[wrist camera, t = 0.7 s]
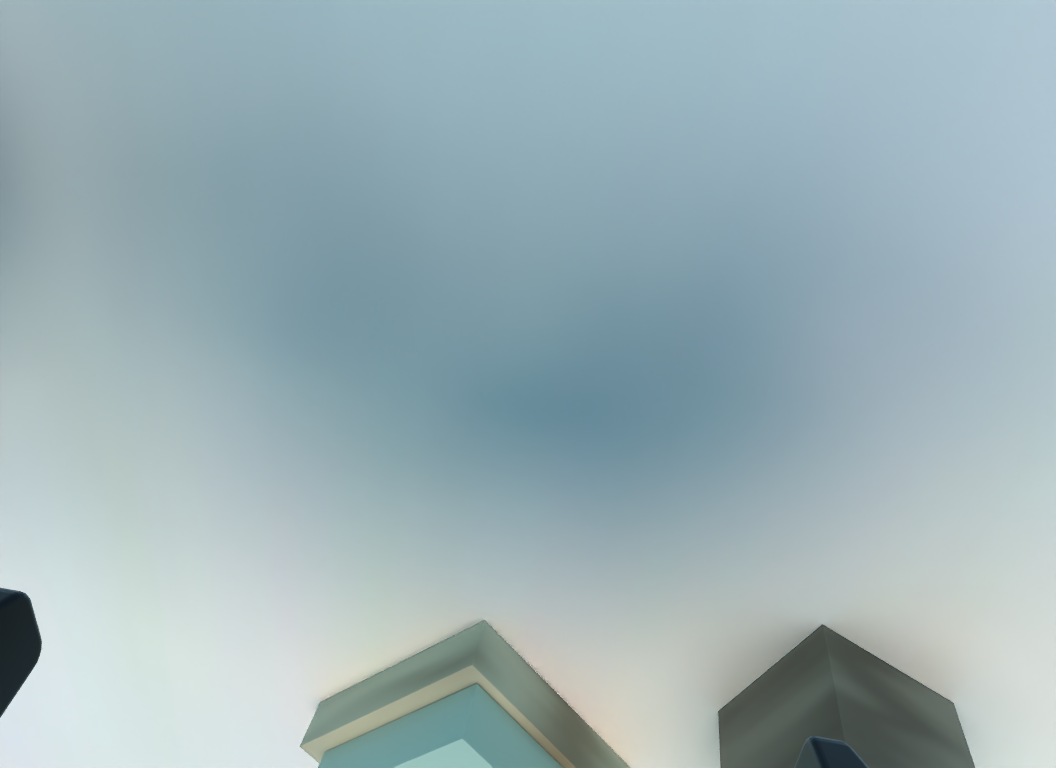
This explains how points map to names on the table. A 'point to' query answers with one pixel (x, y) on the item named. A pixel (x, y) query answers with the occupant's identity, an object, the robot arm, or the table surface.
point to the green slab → (445, 739)
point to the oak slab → (448, 672)
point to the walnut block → (840, 712)
